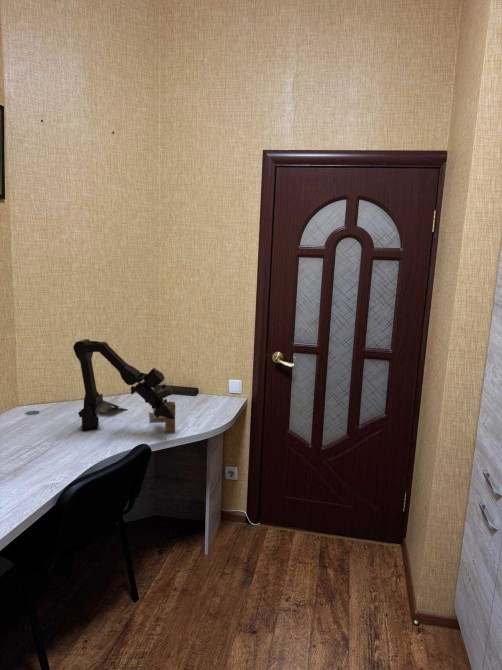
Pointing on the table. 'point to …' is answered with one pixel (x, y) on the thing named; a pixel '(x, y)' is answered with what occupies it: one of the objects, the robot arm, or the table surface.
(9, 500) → the table surface
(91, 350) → the robot arm
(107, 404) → the wall
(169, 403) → the rail post
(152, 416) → the gold square frame
